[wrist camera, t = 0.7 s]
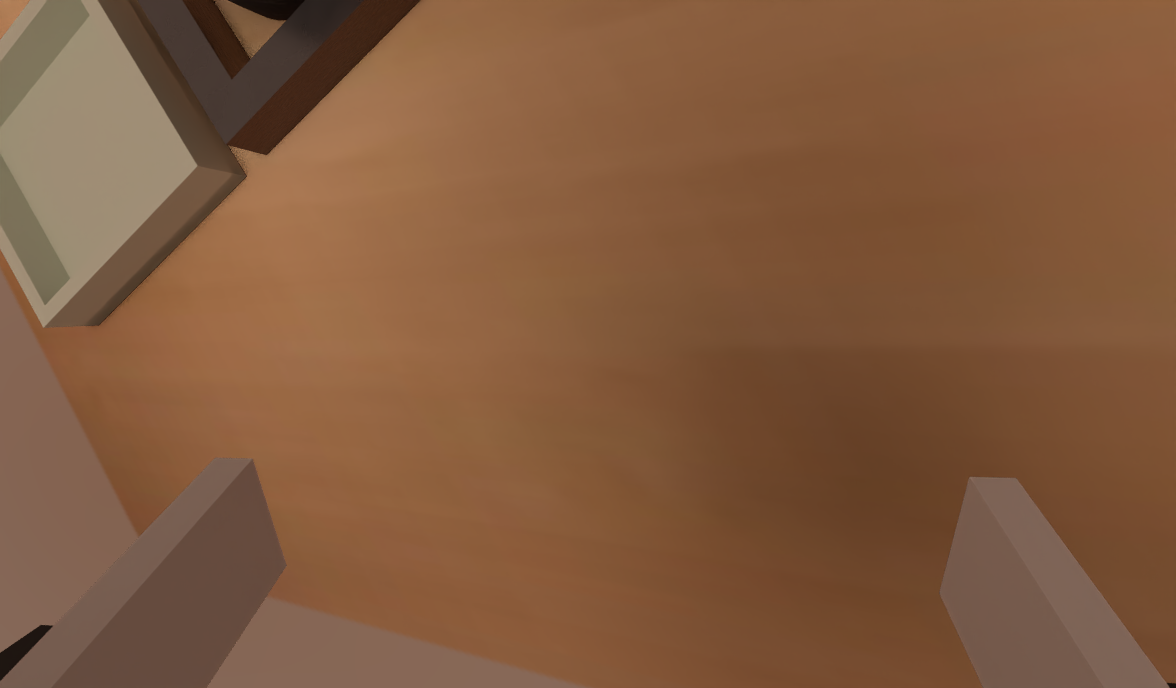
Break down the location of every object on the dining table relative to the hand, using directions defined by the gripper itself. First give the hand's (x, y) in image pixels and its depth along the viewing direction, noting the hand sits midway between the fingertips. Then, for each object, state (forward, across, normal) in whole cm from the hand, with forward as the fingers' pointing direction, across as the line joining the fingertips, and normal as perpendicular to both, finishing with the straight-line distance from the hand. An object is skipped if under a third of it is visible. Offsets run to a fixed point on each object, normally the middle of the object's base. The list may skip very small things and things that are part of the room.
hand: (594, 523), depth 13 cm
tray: (+33, -35, +1) cm, 48 cm away
